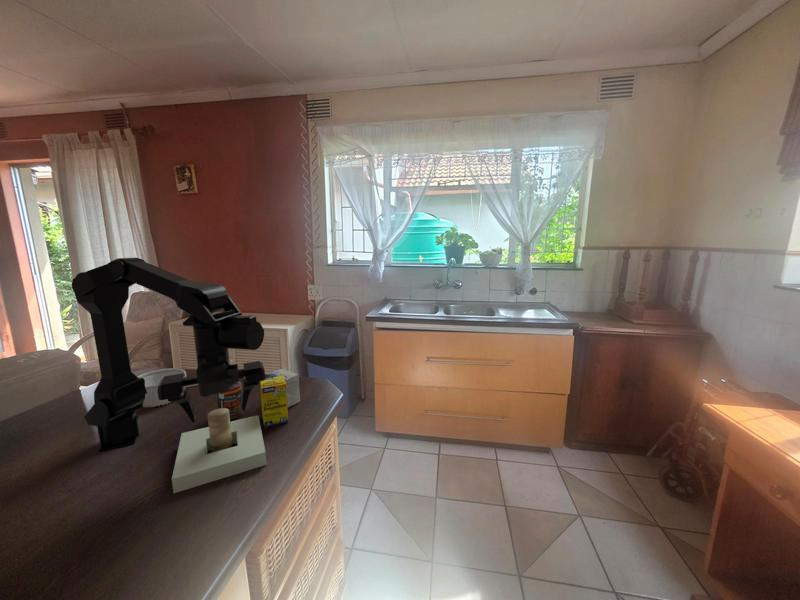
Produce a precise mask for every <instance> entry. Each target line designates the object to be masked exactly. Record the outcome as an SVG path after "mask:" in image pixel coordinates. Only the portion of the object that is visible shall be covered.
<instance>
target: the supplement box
mask: <svg viewBox="0 0 800 600" xmlns="http://www.w3.org/2000/svg"><path fill="white" fill-rule="evenodd" d="M259 389H260V400H261V401H260V402H261V405H260V406H261V417H262V423H263V424H262V425H263V428H264V429H266V428H270V427H273V426H277V425H278V426H279V425H282V424H288V423H289V413H288V411H289V410H288V407H287V391H286V382H285V379H284V376H283V375H282V376H279V377H272V378H269V377H268V378H266V377H265V380H264V381H260V382H259Z"/></svg>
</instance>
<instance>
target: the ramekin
mask: <svg viewBox="0 0 800 600" xmlns="http://www.w3.org/2000/svg"><path fill="white" fill-rule="evenodd" d="M182 373H185V376H186V377H187V372H186V370H185V369H182V368H163V369H156V370H152V371H149V372H146V373H142V374H141V375H138V376H137V375H136V376H137V377H138V378H143V379H144V380H145V388H146V391H147V393H146V394H145V400H144V402H143V407H142V408H155V407H156V406H158V407H161V406H160V405H162V406H165V404H166V405H169V404H171V402H169V401H168V399H166V400H159V398H158V386H159V384H160V382H161V380H162V379H163V377H164V376H169V375H176V374H182ZM168 403H169V404H168Z"/></svg>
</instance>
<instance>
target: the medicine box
mask: <svg viewBox="0 0 800 600" xmlns="http://www.w3.org/2000/svg"><path fill="white" fill-rule="evenodd" d="M282 375H283V376H284V379H285V382H286V391H287V408H290V406H291V407H292V405H293V406H295V405H296V404H298V403H300V402H301V396H300V394H301V393H300V392H301V391H300V381H299V374H297V373H295V372H292V371H289V370H287V369H284V368H279V369H277V370H274V371H272V372H270V373H269V374H268V378H272V377H279V376H282Z"/></svg>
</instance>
